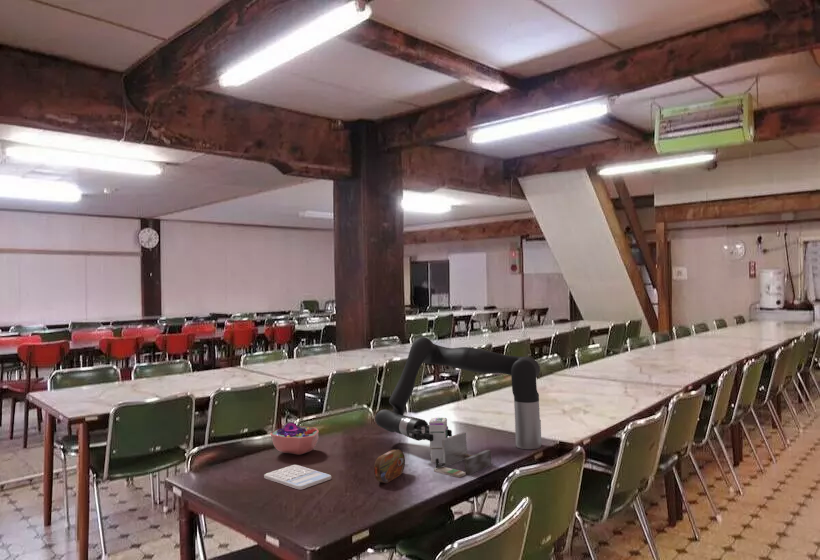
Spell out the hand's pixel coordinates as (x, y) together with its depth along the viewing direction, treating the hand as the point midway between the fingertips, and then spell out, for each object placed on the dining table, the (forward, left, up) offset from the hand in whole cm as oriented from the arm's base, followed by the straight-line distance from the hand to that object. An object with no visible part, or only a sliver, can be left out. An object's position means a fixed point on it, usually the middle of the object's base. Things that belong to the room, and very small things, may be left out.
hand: (441, 435), depth 200 cm
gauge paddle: (+2, +5, -8) cm, 10 cm away
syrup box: (0, -2, -9) cm, 9 cm away
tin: (+24, -3, -9) cm, 26 cm away
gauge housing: (+1, +10, -9) cm, 14 cm away
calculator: (+42, -28, -10) cm, 51 cm away
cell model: (+25, -52, -9) cm, 58 cm away
